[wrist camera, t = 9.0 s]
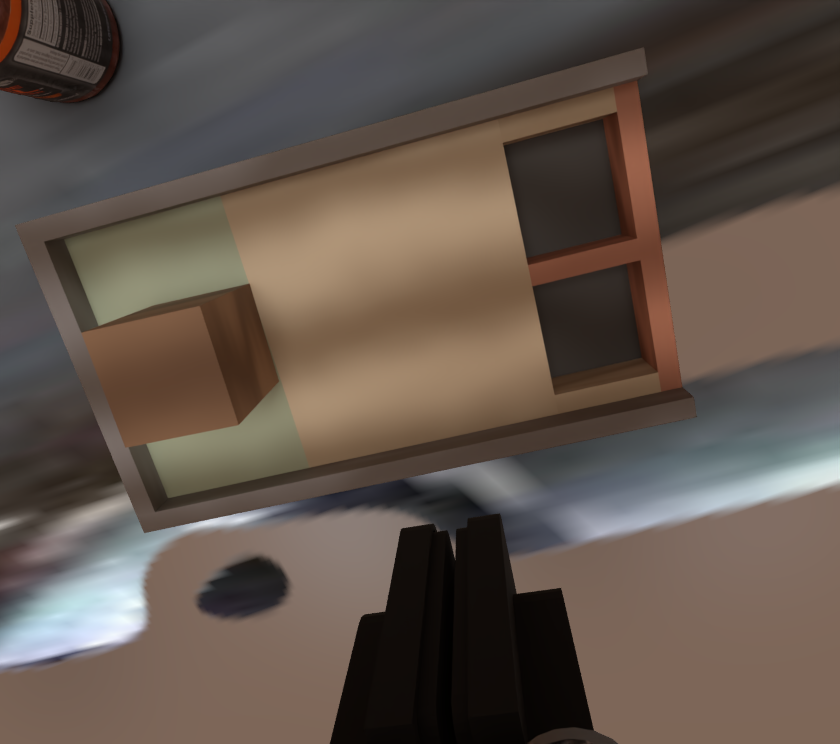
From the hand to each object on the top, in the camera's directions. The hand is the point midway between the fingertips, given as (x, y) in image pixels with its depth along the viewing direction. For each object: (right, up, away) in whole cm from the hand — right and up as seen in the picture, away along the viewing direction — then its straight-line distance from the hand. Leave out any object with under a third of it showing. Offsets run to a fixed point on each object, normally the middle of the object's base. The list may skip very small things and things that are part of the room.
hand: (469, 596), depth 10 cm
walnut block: (-11, +5, +20) cm, 23 cm away
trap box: (-3, +7, +22) cm, 24 cm away
